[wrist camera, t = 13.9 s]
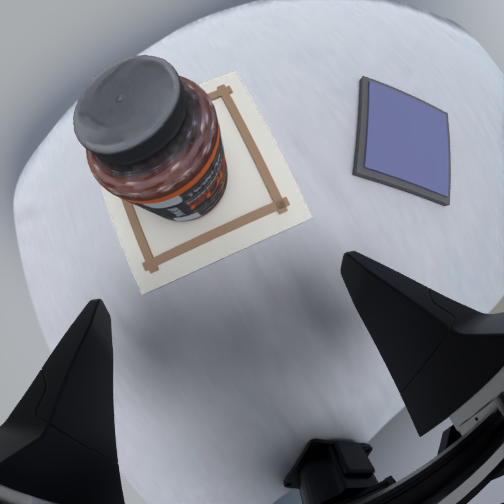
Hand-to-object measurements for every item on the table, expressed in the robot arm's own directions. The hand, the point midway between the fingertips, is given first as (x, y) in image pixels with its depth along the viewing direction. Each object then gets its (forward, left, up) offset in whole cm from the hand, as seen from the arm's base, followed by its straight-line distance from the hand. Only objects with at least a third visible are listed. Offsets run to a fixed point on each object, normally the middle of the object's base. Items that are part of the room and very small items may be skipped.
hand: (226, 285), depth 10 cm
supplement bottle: (+4, +5, -9) cm, 12 cm away
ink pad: (+14, -10, -9) cm, 19 cm away
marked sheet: (+5, +5, -9) cm, 12 cm away
